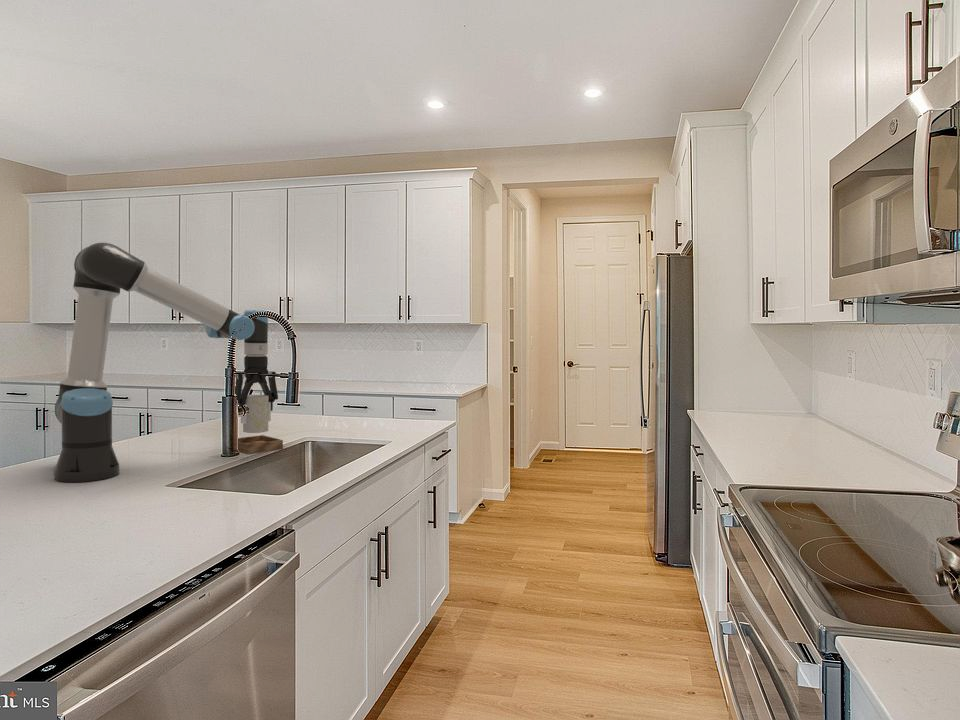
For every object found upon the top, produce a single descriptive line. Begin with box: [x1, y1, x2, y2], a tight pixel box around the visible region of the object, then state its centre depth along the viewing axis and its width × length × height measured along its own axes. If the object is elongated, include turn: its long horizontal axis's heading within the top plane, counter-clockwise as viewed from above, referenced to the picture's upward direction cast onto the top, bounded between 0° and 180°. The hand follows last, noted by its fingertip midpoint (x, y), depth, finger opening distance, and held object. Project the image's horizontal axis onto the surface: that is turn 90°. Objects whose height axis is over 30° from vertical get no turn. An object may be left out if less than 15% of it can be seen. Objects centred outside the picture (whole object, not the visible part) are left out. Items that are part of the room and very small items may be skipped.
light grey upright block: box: [242, 394, 269, 434], centre depth 212 cm, size 8×8×12 cm
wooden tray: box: [237, 434, 284, 455], centre depth 212 cm, size 13×13×3 cm
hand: (255, 421), depth 212 cm, fingers closed on light grey upright block, 8 cm apart
